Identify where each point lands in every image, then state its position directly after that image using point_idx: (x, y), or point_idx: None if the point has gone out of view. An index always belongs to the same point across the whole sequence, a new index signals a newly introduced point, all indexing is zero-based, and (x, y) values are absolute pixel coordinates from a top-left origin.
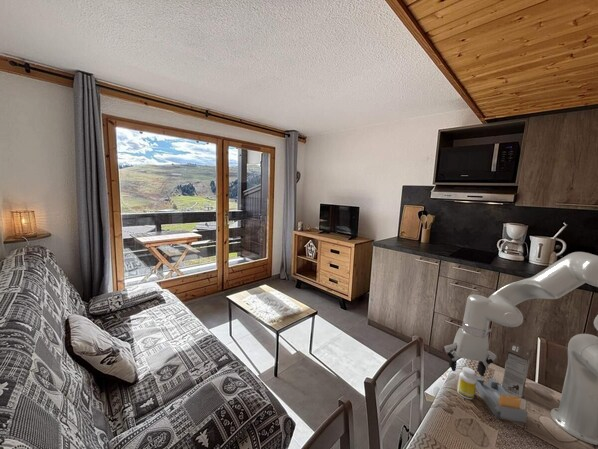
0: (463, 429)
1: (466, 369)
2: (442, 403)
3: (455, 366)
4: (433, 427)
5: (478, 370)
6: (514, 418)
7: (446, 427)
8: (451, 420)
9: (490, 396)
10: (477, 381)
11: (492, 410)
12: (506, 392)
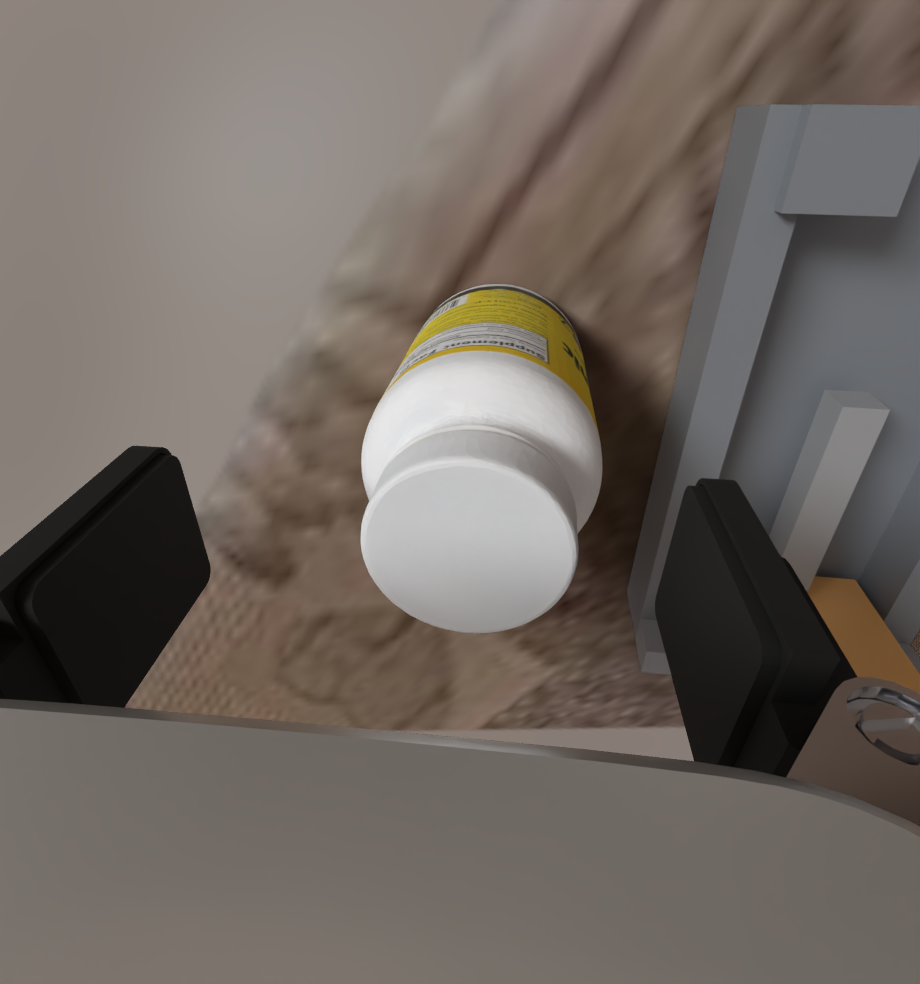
0: (322, 674)
1: (428, 539)
2: (229, 510)
3: (148, 654)
4: None
5: (686, 536)
6: None
7: (221, 669)
8: (264, 630)
9: (783, 389)
10: (769, 226)
11: (639, 559)
12: None
